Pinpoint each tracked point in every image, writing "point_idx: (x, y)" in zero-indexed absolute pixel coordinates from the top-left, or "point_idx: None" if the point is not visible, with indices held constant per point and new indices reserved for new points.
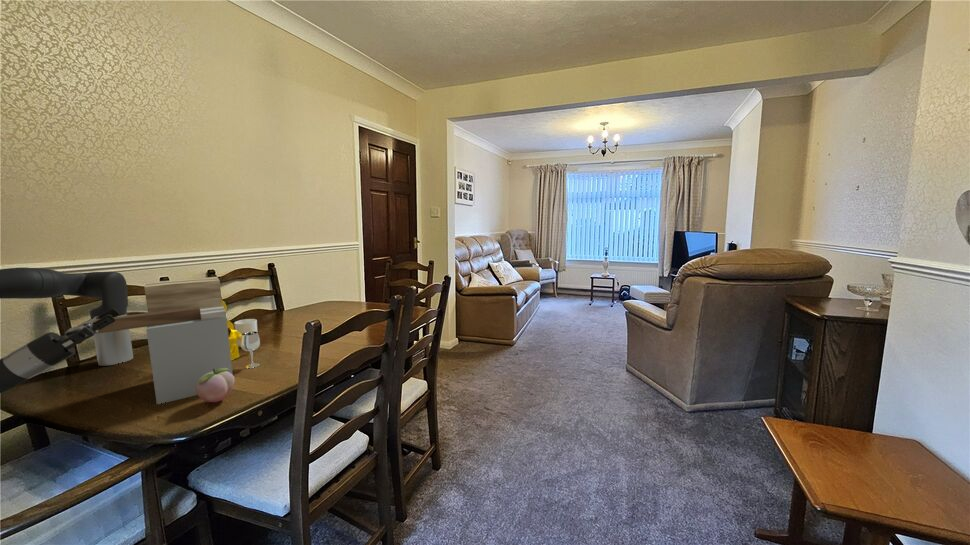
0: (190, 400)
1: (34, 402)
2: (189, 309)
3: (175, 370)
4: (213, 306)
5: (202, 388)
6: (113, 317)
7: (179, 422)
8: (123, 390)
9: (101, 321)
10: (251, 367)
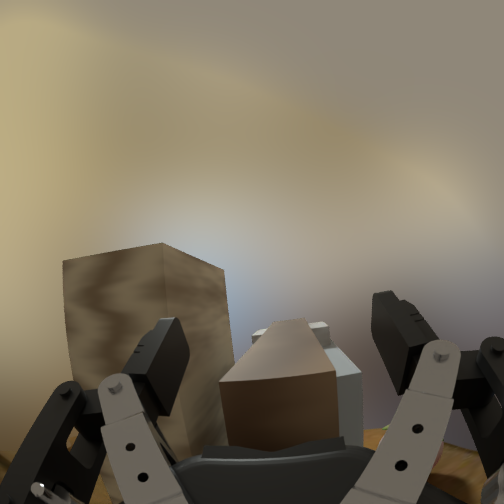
0: None
1: None
2: (297, 320)
3: None
4: (226, 337)
5: (440, 446)
6: (372, 315)
7: (473, 490)
8: None
9: (423, 321)
10: None
